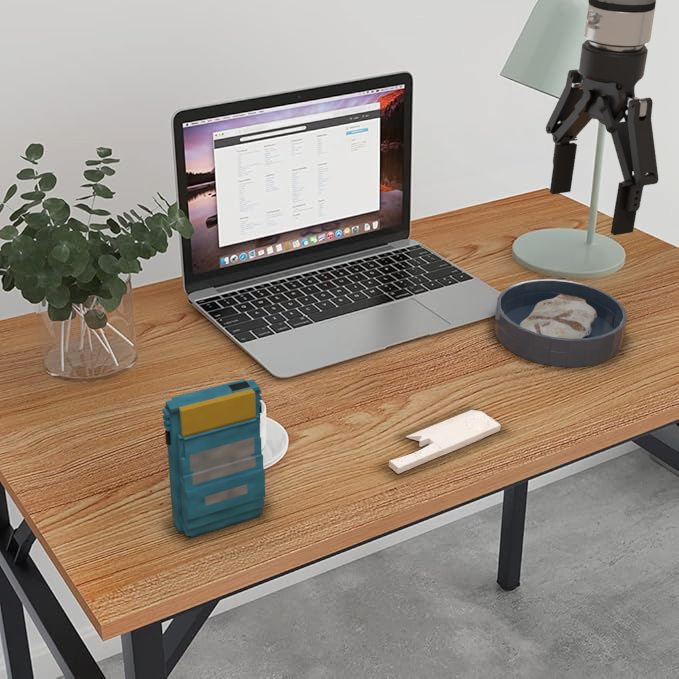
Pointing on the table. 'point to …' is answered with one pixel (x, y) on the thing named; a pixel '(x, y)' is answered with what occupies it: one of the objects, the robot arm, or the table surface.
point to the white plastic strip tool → (446, 438)
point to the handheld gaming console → (215, 457)
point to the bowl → (555, 350)
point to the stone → (561, 317)
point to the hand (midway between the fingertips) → (589, 211)
